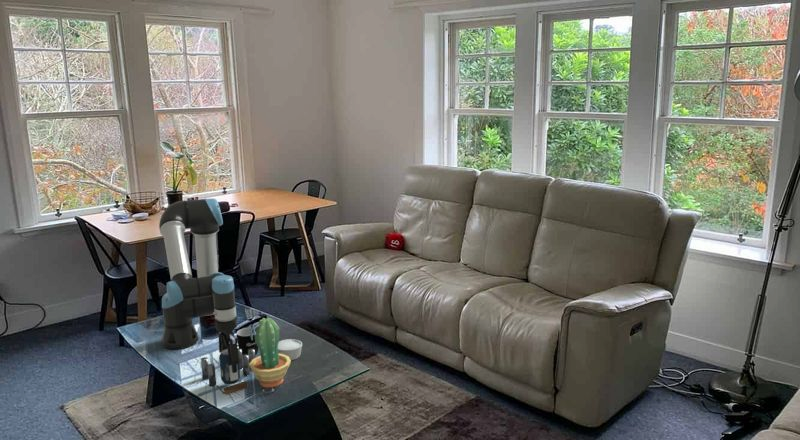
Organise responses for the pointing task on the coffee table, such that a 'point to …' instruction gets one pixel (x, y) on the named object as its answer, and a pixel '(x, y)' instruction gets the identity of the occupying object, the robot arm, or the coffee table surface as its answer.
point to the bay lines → (219, 389)
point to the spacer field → (244, 362)
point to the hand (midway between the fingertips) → (230, 375)
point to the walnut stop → (235, 388)
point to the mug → (246, 341)
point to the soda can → (226, 368)
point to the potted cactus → (268, 354)
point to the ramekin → (290, 348)
